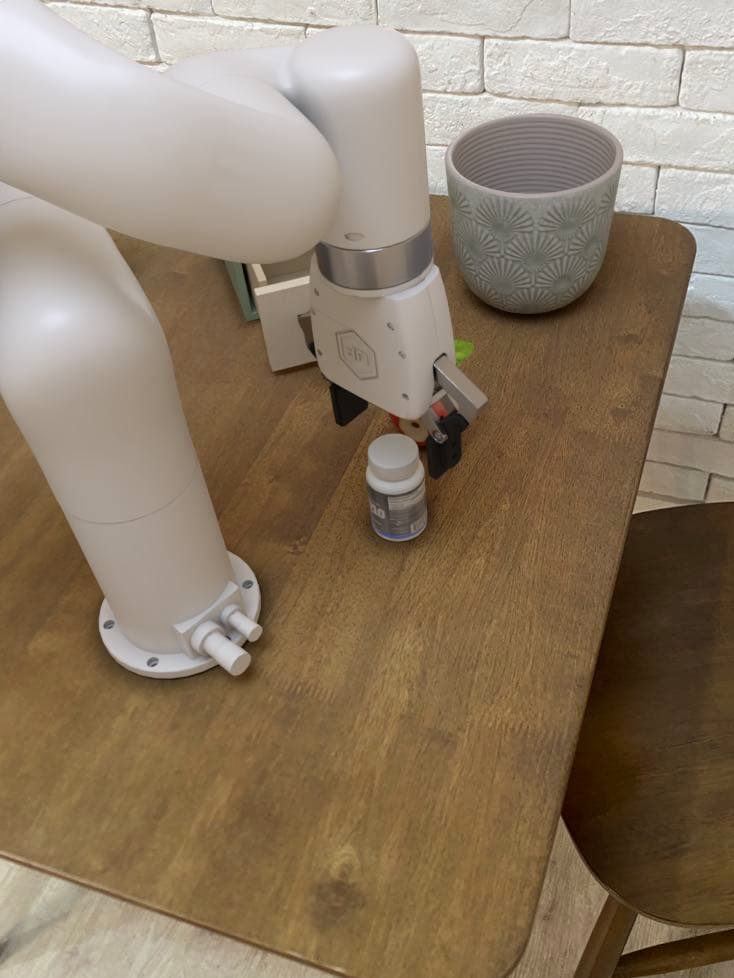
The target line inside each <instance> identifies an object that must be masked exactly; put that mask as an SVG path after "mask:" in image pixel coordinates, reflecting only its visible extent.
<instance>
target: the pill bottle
mask: <svg viewBox="0 0 734 978" xmlns="http://www.w3.org/2000/svg"><path fill="white" fill-rule="evenodd" d="M365 470H366V471H365V480H366V488H367V496H368V504H369V510H370V511H369V512H370V519H371V524H372V528H373V530H374V532H375V533H376V534H377V536H379V537H380V538H382V539H384V540H387V541H390V542H405V541H410V540H413V539H415V538H417V537H418V536H419V535H421V533H423V531H424V530H425V528H426V527H427V524H428V507H427V506H428V505H427V493H426V492H427V490H426V473H425V471H426V470H425V467H424V465H423V462H422V460H421V459H420V453H419V445H417V444H416V443H415V441H414V440H413V439H411V438H410V437H408V436H406V435H403V434H402V433H387V434H383V435H381V436H378V437H377V438H375V439H373V441H372V442H370V444H369V446H368V449H367V467H366V469H365Z"/></svg>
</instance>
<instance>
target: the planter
mask: <svg viewBox="0 0 734 978" xmlns="http://www.w3.org/2000/svg"><path fill="white" fill-rule="evenodd" d="M624 155H625V154H624V148H623V146H622V144H621V142H620V141H619V139H618V138H617V137H616V135H614V134H613V133H612V132H611V131H609V130H608V129H606V128H605V127H603V126H601V125H599V124H597V123H595V122H593V121H590V120H587V119H583V118H580V117H576V116H572V115H567V114H560V113H559V114H558V113H549V112H547V113H546V112H529V113H517V114H510V115H503V116H499V117H494V118H491V119H488V120H485V121H482V122H479V123H476V124H474V125H472V126H471V127H468V128H467V129H465V130H463V131H462V132H461V133H459V134H458V135H456V136H455V138H453V139H452V141H451V142H449V144H448V146H447V147H446V150H445V153H444V168H445V176H446V186H447V197H448V205H449V213H450V223H451V233H452V242H453V250H454V257H455V259H456V264H457V267H458V270H459V273H460V274H461V276H462V279H463V281H464V282H465V284H466V286H467V287H468V288H469V290H471V293H473V294H474V295H475V296H476V297H477V298H478V299H480V300H481V301H483V302H484V303H485V304H487V305H489V306H490V307H492V308H495V309H497V310H501V311H504V312H509V313H513V314H514V313H515V314H520V315H522V314H523V315H533V314H535V315H536V314H542V313H548V312H549V313H550V312H552V311H556V310H558V309H561V308H564V307H565V306H568V305H570V304H572V302H574V301H575V300H577V299H578V298H579V297H580V296H582V295H583V294H584V293H585V292H586V291H587V290H588V289H589V288H590V287H591V285H592V284H593V282H594V281H595V279H596V277H597V275H598V274H599V272H600V270H601V267H602V265H603V262H604V259H605V257H606V252H607V247H608V243H609V236H610V231H611V227H612V222H613V217H614V211H615V206H616V201H617V195H618V189H619V185H620V179H621V174H622V168H623V162H624V157H625V156H624Z"/></svg>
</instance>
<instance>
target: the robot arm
mask: <svg viewBox="0 0 734 978" xmlns="http://www.w3.org/2000/svg"><path fill="white" fill-rule="evenodd" d="M420 63H421V62H420V58H419V55H418V52H417V50H416V48H415V45H414V44H413V43H412V41H410V40H409V38H408V37H407V36H405V35H404V34H403V33H402V32H400V31H398V30H396V29H394V28H392V27H390V26H385V25H380V24H374V23H373V24H371V23H351V24H344V25H338V26H333V27H329V28H326V29H323V30H320V31H318V32H315V33H313V34H311V35H309V36H307V37H306V38H304V39H302V40H300V41H298V42H293V43H287V44H279V45H278V44H277V45H269V46H259V47H246V48H233V49H223V50H214V51H213V50H211V51H206V52H201V53H196V54H193V55H190V56H187V57H185V58H183V59H180V60H179V61H177V62H174V63H172V64H171V65H170V66H168V67H167V68H166V69H165V70H164V71H163V72H162V73H161V72H159V71H156V70H155V69H153V68H151V67H148V66H146V65H144V64H142V63H140V62H139V61H136V60H135V59H132V58H130V57H129V56H126V55H124V54H123V53H121V52H119V51H117V50H115V49H113V48H112V47H110V46H108V45H107V44H105V43H103V42H101V41H99V40H98V39H96V38H94V37H93V36H91V35H89V33H86V32H84V31H83V30H81V29H80V28H78V27H77V26H75V25H74V24H72V23H71V22H70V21H68V20H67V19H66V18H64V17H62V16H61V14H58V13H57V12H55V10H53V9H51V8H50V6H48V5H46V4H45V3H44V2H43V1H41V0H0V396H1V398H2V400H3V402H4V404H5V406H6V408H7V410H8V412H9V413H10V415H11V417H12V419H13V421H14V423H15V424H16V426H17V428H18V429H19V431H20V433H21V434H22V436H23V438H24V439H25V441H26V443H27V444H28V446H29V449H30V450H31V453H32V454H33V456H34V458H35V460H36V462H37V463H38V465H39V467H40V470H41V471H42V473H43V474H42V475H44V478H45V480H46V482H47V484H48V486H49V487H50V488H49V489H51V492H52V494H53V495H54V498H55V500H56V503H58V505H59V506H60V508H61V510H62V512H63V514H64V517H65V519H66V520H67V523H68V525H69V527H70V529H71V531H72V533H73V535H74V537H75V539H76V541H77V544H78V545H79V547H80V549H81V551H82V553H83V555H84V557H85V559H86V561H87V563H88V565H89V567H90V569H91V572H92V573H93V576H94V578H95V580H96V582H97V583H98V586H99V587H100V590H101V591H102V594H103V596H104V597H103V600H102V603H101V606H100V610H99V615H98V630H99V631H98V632H99V634H100V637H101V639H102V643H103V644H104V647H105V648H106V651H108V653H109V655H110V656H111V658H113V659H114V661H115V662H116V663H117V664H118V665H120V666H122V667H123V668H124V669H126V670H127V671H130V672H131V673H135V674H137V675H140V676H142V677H147V678H152V679H177V678H184V677H185V678H186V677H190V676H193V675H196V674H200V673H203V672H205V671H207V670H209V669H212V668H214V667H215V666H218V665H219V666H220V667H221V668H223V669H224V670H225V671H226V672H227V673H228V674H230V675H231V676H233V677H237V676H240V675H241V674H243V673H244V672H245V671H246V670H247V669H248V668H249V666H250V664H251V661H252V656H251V654H250V653H249V652H248V651H246V650H245V649H244V648H243V647H242V646H243V645H244V644H245V643H246V641H248V642H250V643H254V642H256V641H257V640H259V638H260V637H261V635H262V634H263V626H261V625H260V624H258V621H259V618H260V613H261V611H262V595H261V590H260V585H259V584H258V583H259V582H258V580H257V577H256V574H255V572H254V571H253V570H252V569H251V567H250V566H249V564H248V563H246V562H245V560H243V559H242V558H241V557H240V556H238V555H236V554H235V553H233V552H231V551H229V550H228V549H227V546H226V543H225V540H224V537H223V534H222V531H221V527H220V525H219V521H218V518H217V515H216V512H215V508H214V505H213V502H212V498H211V495H210V493H209V490H208V485H207V483H206V479H205V477H204V473H203V470H202V467H201V464H200V461H199V457H198V454H197V451H196V449H195V445H194V444H193V440H192V438H191V437H192V436H191V434H190V430H189V427H188V424H187V421H186V420H187V419H186V417H185V413H184V411H183V407H182V403H181V399H180V395H179V390H178V385H177V380H176V375H175V369H174V364H173V359H172V355H171V351H170V347H169V345H168V341H167V337H166V335H165V333H164V329H163V328H162V325H161V323H160V321H159V318H158V316H157V314H156V311H155V310H154V308H153V305H152V304H151V302H150V300H149V299H148V297H147V294H146V293H145V291H144V290H143V288H142V286H141V284H140V282H139V281H138V279H137V277H136V276H135V273H134V272H133V271H132V268H131V267H130V266H129V264H128V263H127V261H126V260H125V258H124V257H123V255H122V254H121V252H120V250H119V248H118V247H117V244H116V243H115V242H114V240H113V238H112V237H111V235H110V233H109V232H108V230H107V229H109V230H112V231H114V232H115V233H120V234H122V235H125V236H128V237H131V238H134V239H137V240H141V241H143V242H148V243H151V244H154V245H157V246H162V247H165V248H171V249H175V250H179V251H184V252H187V253H191V254H196V255H201V256H204V257H208V258H213V259H216V260H217V259H218V260H222V261H224V260H227V261H232V262H238V263H247V264H272V263H278V262H283V261H287V260H290V259H293V258H296V257H298V256H300V255H302V254H303V253H305V252H307V251H309V250H310V249H312V248H313V247H314V246H315V253H314V254H313V256H312V258H311V266H310V279H309V295H310V310H309V311H307V312H306V313H304V314H303V315H301V316H300V317H299V318H298V322H299V325H300V327H301V328H302V330H303V332H304V334H305V336H306V338H307V340H308V341H309V340H310V342H311V343H310V344H309V349H310V352H311V353H312V354H313V355H314V357H315V358H316V359H317V361H316V362H317V364H318V367H319V370H320V376H321V378H322V380H323V381H324V382H325V383H326V384H328V385H330V386H328V389H329V395H330V401H331V405H332V412H333V416H334V417H333V418H334V423H335V424H336V425H337V426H339V427H341V428H342V427H346V426H347V425H349V424H350V423H351V422H353V421H354V420H355V419H357V418H358V417H359V416H360V415H361V414H363V413H365V412H366V410H368V408H369V404H370V403H371V404H373V406H376V407H378V408H380V409H382V410H383V411H386V412H390V413H392V414H394V415H396V416H398V417H400V418H403V419H407V420H417V419H418V418H420V419H421V420H422V422H423V424H424V425H425V427H426V428H427V430H428V431H429V433H430V435H429V436H428V437H427V438H426V440H425V444H426V446H425V453H426V465H427V474H428V476H429V478H431V479H433V480H435V481H438V479H440V478H441V477H442V476H443V475H444V474H445V473H446V472H448V470H452V469H453V468H455V467H456V466H457V465H458V464H459V463H460V462H461V459H462V456H463V450H462V433H464V432H465V431H466V430H467V429H468V428H469V427H470V426H472V425H473V424H474V423H475V422H476V421H477V420H479V419H480V416H481V415H482V413H483V411H485V409H486V407H487V406H488V404H489V398H488V397H487V395H486V394H485V393H484V392H483V391H482V390H481V389H480V388H479V387H478V386H477V385H476V384H475V383H474V382H473V381H472V380H471V379H470V378H468V377H467V376H466V374H465V373H463V372H462V371H461V369H460V368H459V367H458V366H457V365H456V356H455V344H454V339H455V338H454V330H453V323H452V317H451V312H450V307H449V302H448V297H447V292H446V290H445V289H446V288H445V284H444V281H443V278H442V275H441V271H440V268H439V266H438V265H436V264H435V263H434V260H435V259H434V244H433V243H434V241H433V228H432V213H431V203H430V190H429V189H430V187H429V174H428V173H429V172H428V157H427V143H426V129H425V127H426V126H425V114H424V113H425V112H424V97H423V83H422V82H423V81H422V80H423V79H422V71H421V64H420ZM105 227H106V229H105ZM434 389H435V390H434ZM433 390H434V391H433ZM439 400H440V402H441V404H442V405H443V407H444V408H445V410H446V411H447V413H448V415H447V416H446V417H445V418H443V419H442V420H441V421H440V420H439V418H438V417H437V415H436V414H435V412H434V411H433V409H432V408H431V407H432V406H433V405H434V404H435V403H437V402H438V401H439Z"/></svg>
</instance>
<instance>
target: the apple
mask: <svg viewBox="0 0 734 978" xmlns="http://www.w3.org/2000/svg"><path fill="white" fill-rule="evenodd" d="M454 344H455V356H456V366H459V365H460V364H462V362H463V361H466V360H467V359H468V358H469V357H470V356H471V355H472V353H473V351H474V346H475V343H473V342H469V341H465V340H462V339H456V338H454ZM434 390H435V389H434ZM434 390H433V391H434ZM431 408H432V409H433V411H434V412H435V414H436V415H437V417H438V418H439V420H440V421H441V420H442V419H443V418H445V417H446V416H447V415H448V413H447V411H446V410H445V408H444V407H443V405H442V404H441V402H440V400H439V401H438V402H437V403H435V404H434V405H433V406H432V407H431ZM388 416H389V418H390V420H391V422H392V424H393V425H394V427H395V428H396V429H397V430H398V431H399V433H400V434H402V435H406V436H408V437H410V438H411V439H413V440H414V441H415V443H416V444H417V446H418V447H426V444H425V440H426V438H427V437H428V436H429V435H430V433H429V431H428V430H427V428H426V427H425V425H424V424H423V422H422V420H421V419H420V418H418V419H417V420H407V419H403V418H400V417H398V416H396V415H394V414H392V413H390V412H388Z"/></svg>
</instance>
